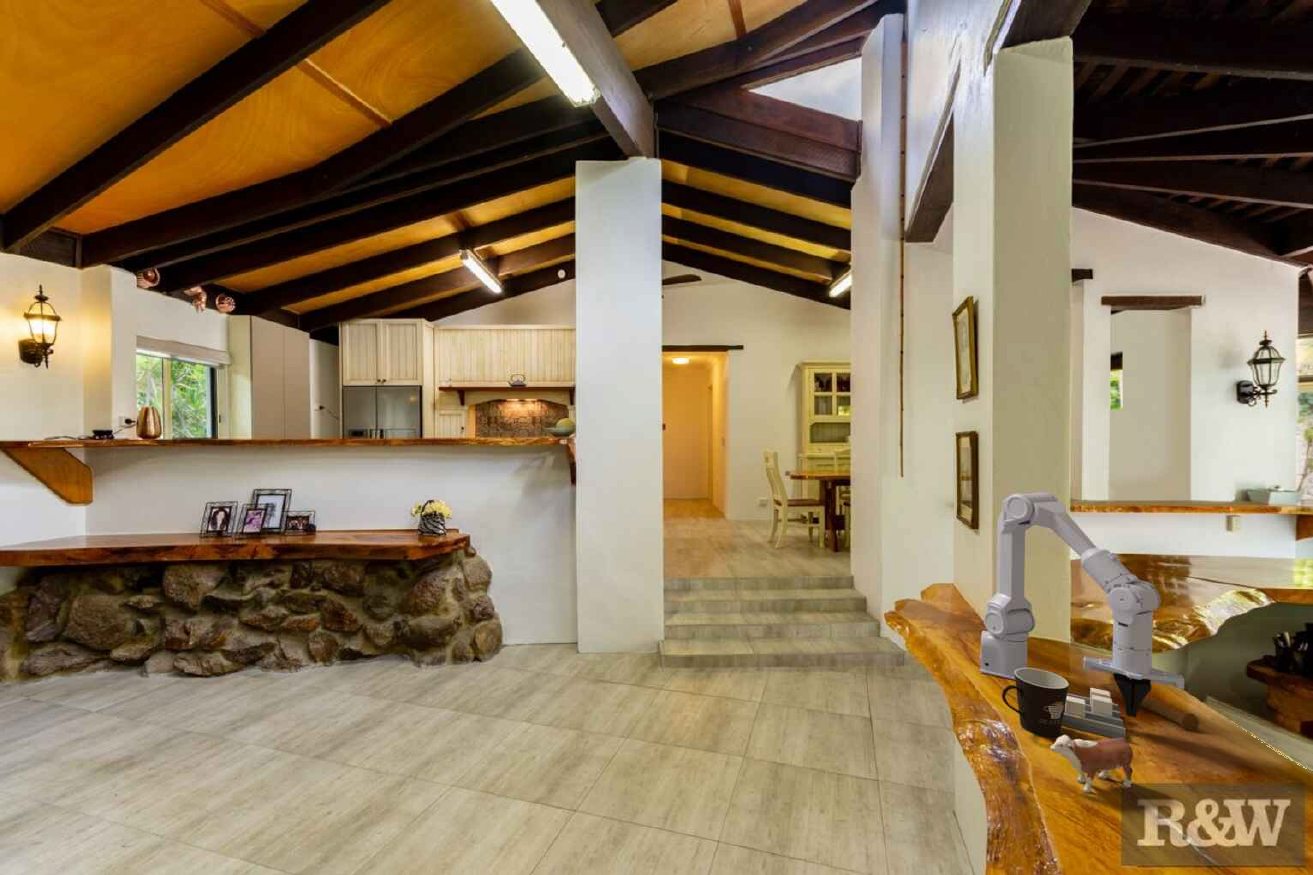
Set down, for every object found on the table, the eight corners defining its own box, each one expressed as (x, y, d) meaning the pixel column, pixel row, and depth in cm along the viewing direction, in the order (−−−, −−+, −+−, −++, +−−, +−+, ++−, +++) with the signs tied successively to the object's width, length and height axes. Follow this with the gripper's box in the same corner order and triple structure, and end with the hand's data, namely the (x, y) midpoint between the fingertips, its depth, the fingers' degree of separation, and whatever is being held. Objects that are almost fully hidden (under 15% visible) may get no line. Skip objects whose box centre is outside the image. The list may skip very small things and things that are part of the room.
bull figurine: (1044, 778, 91) (1045, 730, 91) (1119, 773, 92) (1120, 726, 92) (1066, 796, 87) (1067, 745, 87) (1144, 791, 88) (1145, 741, 88)
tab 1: (1065, 717, 108) (1066, 700, 107) (1065, 712, 109) (1065, 695, 109) (1085, 721, 106) (1085, 704, 106) (1084, 716, 108) (1084, 699, 108)
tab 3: (1092, 715, 108) (1092, 699, 108) (1091, 711, 110) (1091, 694, 110) (1112, 720, 106) (1112, 703, 106) (1110, 715, 108) (1111, 698, 108)
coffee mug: (1058, 721, 109) (1058, 671, 108) (1075, 745, 100) (1076, 691, 100) (991, 711, 112) (991, 663, 112) (1002, 733, 104) (1003, 681, 104)
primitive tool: (1096, 686, 124) (1096, 671, 124) (1118, 685, 124) (1118, 670, 124) (1184, 734, 105) (1185, 716, 105) (1210, 733, 105) (1211, 715, 105)
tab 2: (1090, 708, 111) (1091, 691, 111) (1090, 703, 113) (1090, 687, 113) (1110, 712, 109) (1110, 696, 109) (1108, 708, 111) (1109, 691, 111)
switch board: (1058, 724, 107) (1059, 712, 107) (1056, 701, 116) (1056, 690, 116) (1125, 741, 102) (1125, 728, 102) (1117, 715, 111) (1117, 704, 111)
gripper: (1086, 643, 106) (1084, 712, 106) (1188, 661, 98) (1187, 736, 98) (1083, 631, 112) (1082, 697, 112) (1179, 648, 104) (1178, 718, 104)
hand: (1130, 714), depth 105 cm, fingers closed
